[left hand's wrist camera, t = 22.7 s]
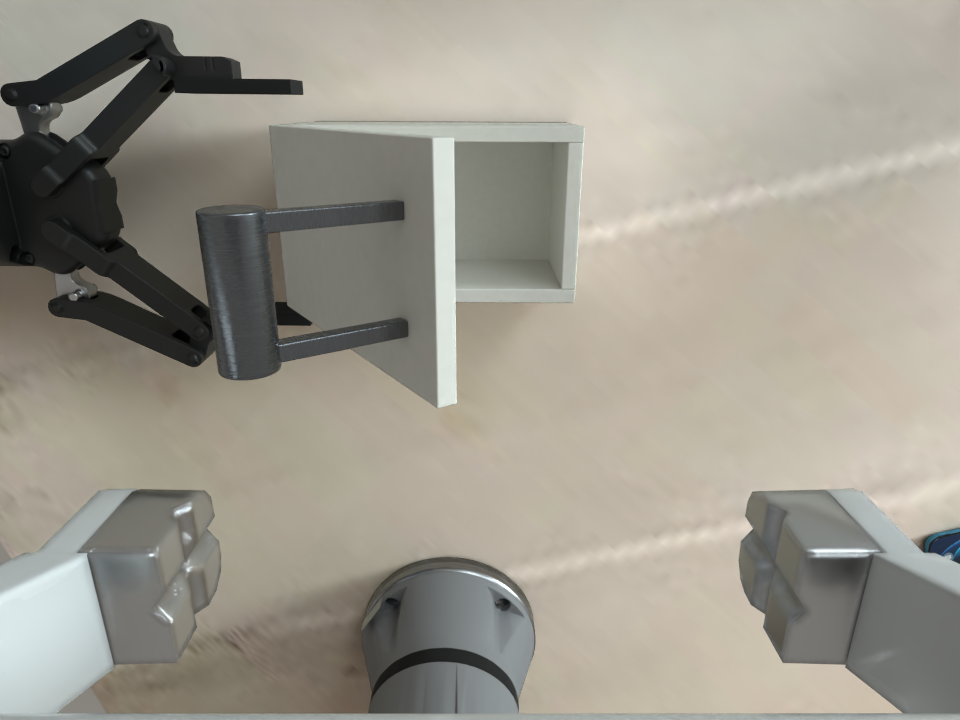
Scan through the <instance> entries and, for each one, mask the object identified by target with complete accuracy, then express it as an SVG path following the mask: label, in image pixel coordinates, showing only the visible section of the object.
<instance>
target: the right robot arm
mask: <svg viewBox="0 0 960 720" xmlns="http://www.w3.org/2000/svg"><path fill="white" fill-rule="evenodd" d="M146 59H149V60H150V61H149V62H148V63H147V64H146V65H145V66H144V67H143V68H142V70H141V71H140V72H139V73H138V74H137V75H136V76H135V77H134V78H133V79H132V80H131V81H130V82H129V83H128V84H127V85H126V87H125V88H124V89H123V90H122V91H121V92H120V93H119V94H118V95H117V96H116V97H115V98H114V99H113V100H112V101H111V102H110V103H109V105H108V106H107V107H106V108H105V109H104V110H103V111H102V112H101V113H100V114H99V115H98V116H97V117H96V118H95V119H94V120H93V122H92V123H91V124H90V125H89V126H88V127H87V128H86V129H85V130H84V131H83V132H82V133H81V134H79V135H77V136H75V137H73V138H72V139H71V140H70V141H69V142H67V141H65V140H64V139H62V138H61V137H59V136H58V135H56V134H54V133H52V132H50V129H49V125H50V122H51V121H52V120H53V119H55V118H58V117H59V116H60V114H61V112H62V111H63V107H62V105H61V104H64V103H68V102H71V101H74V100H76V99H79V98H81V97H82V96H84V95H86V94H88V93H89V92H91V91H93V90H94V89H96V88H98V87H100V86H101V85H103V84H105V83H106V82H108V81H110V80H112V79H113V78H115V77H117V76H118V75H120V74H122V73H124V72H125V71H127V70H129V69H130V68H132V67H134V66H136V65H137V64H139V63H141V62H142V61H144V60H146ZM174 90H175V93H193V94H280V95H303V85H302V81H297V80H290V79H242V78H241V68H240V62H238V61H236V60H233V59H231V58H226V57H202V56H183V55H182V54H180V52H179V51H178V50H177V48H176V46H175V44H174V42H173V33H172V31H171V29H170V28H169V27H168V26H166V25H163V24H160V23H156V22H152V21H148V20H143V19H140V20H137V21H135V22H133V23H132V24H130V25H128V26H127V27H125V28H123V29H122V30H120V31H118V32H117V33H115V34H113V35H112V36H110V37H108V38H106V39H105V40H103V41H101V42H100V43H98V44H96V45H95V46H93V47H91V48H90V49H88V50H86V51H85V52H83V53H81V54H80V55H78V56H76V57H75V58H73V59H71V60H69V61H68V62H66V63H64V64H63V65H61V66H59V67H58V68H56V69H54V70H53V71H51V72H49V73H48V74H46V75H44V76H43V77H41V78H39V79H38V80H34V81H25V82H16V83H8V84H5V85H3V86H2V87H1V91H0V93H1V97H2V99H3V101H4V102H5V103H6V104H8V105H10V106H16V109H17V112H18V115H19V118H20V121H21V124H22V128H23V131H24V134H23V135H22V136H20V137H19V138H17V139H14V140H0V266H38V267H42V268H45V269H47V270H49V271H51V272H53V273H54V274H55V284H56V294H57V297H56V298H54V299H52V300H50V302H49V303H48V308H49V311H50V312H51V313H52V314H53V315H55V316H57V317H64V318H73V319H81V320H87V321H89V322H91V323H93V324H96V325H98V326H100V327H102V328H105V329H107V330H109V331H112V332H114V333H116V334H118V335H121V336H123V337H125V338H127V339H130V340H132V341H134V342H136V343H139V344H141V345H143V346H145V347H148V348H150V349H152V350H154V351H157V352H159V353H161V354H163V355H166V356H168V357H170V358H172V359H175V360H177V361H179V362H181V363H184V364H186V365H188V366H191V367H197V366H199V365H200V364H201V363H202V362H203V361H205V360H206V359H207V358H208V357H209V356H210V355H211V354H212V353H213V352H214V351H215V345H214V338H213V331H212V324H211V317H210V310H209V307H207V306H206V305H205V304H203V303H202V302H201V301H199V300H198V299H197V298H195V297H194V296H193V295H191V294H190V293H189V292H187V291H186V290H185V289H183V288H182V287H180V286H179V285H178V284H176V283H175V282H174V281H172V280H171V279H170V278H168V277H167V276H166V275H164V274H163V273H162V272H160V271H159V270H158V269H156V268H155V267H154V266H152V265H151V264H149V263H148V262H147V261H145V260H144V259H143V258H141V257H140V256H139V255H138V254H137V251H136V249H135V248H134V247H132V246H131V245H130V244H128V243H127V242H126V241H124V240H123V239H122V238H120V237H119V233H120V229H122V228H124V226H123V220H122V215H121V213H120V211H119V208H118V206H117V204H116V198H117V186H116V180H115V177H111V176H110V174H109V173H108V171H107V170H106V169H105V168H104V166H105V165H106V164H107V163H108V162H109V161H110V160H111V159H112V158H113V157H114V156H115V155H116V154H117V153H118V152H119V150H120V149H119V148H120V146H121V145H122V144H123V143H124V142H125V141H126V140H127V139H128V138H129V137H130V136H131V135H132V134H133V133H134V132H135V131H136V130H137V129H138V128H139V127H140V126H141V124H142V123H143V122H144V121H145V120H146V119H147V118H148V117H149V116H150V115H151V114H152V113H153V112H154V111H155V110H156V109H157V108H158V107H159V106H160V105H161V104H162V103H163V102H164V101H165V100H166V99H167V98H168V97H169V96H170V95H171V94H172V92H173V91H174ZM104 251H105V252H104ZM84 266H87V267H88V268H90V269H91V270H93V271H94V272H95V273H97V274H99V275H101V276H105V277H109V278H111V279H112V280H113V281H115V282H116V283H118V284H119V285H120V286H122V287H123V288H124V289H126V290H127V291H129V292H130V293H131V294H133V295H134V296H135V297H137V298H138V299H140V300H141V301H142V302H144V303H145V304H146V305H148V306H149V307H151V308H152V309H153V310H155V311H156V312H158V313H159V314H160V315H162V316H163V317H164V318H163V317H161V316H159V315H157V314H154V313H152V312H150V311H148V310H146V309H143V308H141V307H139V306H137V305H134V304H132V303H130V302H128V301H126V300H123V299H121V298H119V297H117V296H114V295H112V294H108V293H105V292H100V291H97V290H98V287H97V286H96V285H95V284H91V283H89V282H87V281H84V280H83V279H82V278H81V277H80V275H79V272H78V270H80V269H82V268H83V267H84ZM275 310H276V319H277V325H300V326H311V324H312V322H311V321H309V320H308V319H306V318H305V317H303V316H302V315H301V314H299V313H298V312H296V311H295V310H293V309H292V308H290V307H289V306H287V302H275ZM165 318H166V319H165ZM361 631H362V646H363V651H364V655H365V660H366V665H367V670H368V675H369V680H370V685H371V690H372V696H371V702H370V707H369V711H368V714H519V704H518V699H519V696H520V693H521V690H522V687H523V684H524V681H525V678H526V675H527V672H528V669H529V666H530V663H531V660H532V657H533V654H534V650H535V629H534V620H533V614H532V610H531V607H530V605H529V602H528V600H527V598H526V596H525V595H524V593H523V592H522V591H521V589H520V588H519V587H518V586H517V585H516V584H515V583H514V582H513V581H512V580H511V579H510V578H509V577H507V576H506V575H505V574H503V573H502V572H500V571H498V570H497V569H495V568H493V567H491V566H488V565H486V564H483V563H480V562H477V561H474V560H469V559H463V558H452V557H444V558H433V559H427V560H422V561H419V562H416V563H413V564H410V565H408V566H406V567H404V568H402V569H400V570H398V571H397V572H395V573H393V574H392V575H391V576H389V577H388V578H387V579H386V580H385V581H384V582H383V583H382V584H381V585H380V586H379V587H378V588H377V590H376V591H375V593H374V594H373V596H372V598H371V600H370V602H369V605H368V607H367V611H366V616H365V620H364V621H363V624H362V628H361ZM360 633H361V632H360Z"/></svg>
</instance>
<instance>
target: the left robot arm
mask: <svg viewBox="0 0 960 720" xmlns="http://www.w3.org/2000/svg"><path fill="white" fill-rule="evenodd" d="M214 516H215V515H214V510H213V505H212V500H211V496H210V495H209V494H208V493H207V492H206V491H204V490H153V489H140V490H137V489H106V490H101V491H98V492H97V493H96V494H95V495H94V496H93V497H92V498H91V499H90V500H89V501H88V502H87V503H86V504H85V505H84V506H83V507H82V508H81V509H80V510H79V511H78V512H77V513H76V514H75V515H74V516H73V517H72V518H71V519H70V520H69V521H68V522H67V523H66V524H65V525H64V526H63V527H62V528H61V529H60V530H59V531H58V532H57V533H56V534H55V535H54V536H53V537H52V538H51V539H50V540H49V541H48V542H47V543H46V544H45V545H44V546H43V547H42V548H41V549H40V550H39V551H38V552H37V553H24V554H22V555H20V556H17V557H15V558H13V559H11V560H8V561H6V562H4V563H2V564H0V720H960V564H958V563H956V562H954V561H952V560H949V559H947V558H945V557H943V556H941V555H938V554H936V553H923V552H922V551H921V550H920V549H919V548H918V547H917V546H916V545H915V544H914V543H913V542H912V541H911V540H910V539H909V538H908V537H907V536H906V535H905V534H904V533H903V532H902V531H901V530H900V529H899V528H898V527H897V526H896V525H895V524H894V523H893V522H892V521H891V520H890V519H889V518H888V517H887V516H886V515H885V514H884V513H883V512H882V511H881V510H880V509H879V508H878V507H877V506H876V505H875V504H874V503H873V502H872V501H871V500H870V499H869V498H868V497H867V496H866V495H865V494H864V493H863V492H861V491H859V490H856V489H828V490H794V491H758V492H752V494H751V496H750V498H749V500H748V503H747V509H746V514H745V516H746V518H747V520H748V521H749V523H750V524H751V526H752V527H753V529H752V530H751V532H750V533H749V534H748V535H747V536H746V537H745V538H744V539H743V540H742V541H741V546H740V554H739V569H740V579H741V582H742V586H743V589H744V592H745V594H746V596H747V598H748V600H749V602H750V604H751V605H752V606H754V607H755V608H757V609H758V610H760V611H761V612H763V613H764V614H765V620H764V626H763V628H764V630H765V631H766V633H767V635H768V637H769V639H770V640H771V642H772V644H773V646H774V648H775V649H776V651H777V653H778V655H779V657H780V658H781V660H782V662H783V663H808V664H844V665H846V668H847V669H848V670H849V671H851V672H852V673H853V674H854V675H856V676H857V677H858V678H859V679H861V680H862V681H863V682H865V683H866V684H867V685H868V686H870V687H871V688H872V689H873V690H875V691H876V692H877V693H878V694H880V695H881V696H882V697H884V698H885V699H886V700H887V701H889V702H890V703H891V704H892V705H894V706H895V707H896V708H897V709H899V710H900V711H901V712H903V713H798V714H796V713H795V714H105V713H104V714H103V713H101V714H100V713H97V714H95V713H94V714H92V713H87V714H86V713H85V714H84V713H83V714H81V713H79V714H78V713H77V714H75V713H66V714H65V713H62V714H59V713H58V712H59V711H60V710H61V709H63V708H64V707H65V706H67V705H68V704H69V703H70V702H72V701H73V700H74V699H75V698H77V697H78V696H79V695H80V694H82V693H83V692H84V691H86V690H87V689H88V688H89V687H91V686H92V685H93V684H94V683H96V682H97V681H98V680H100V679H101V678H102V677H103V676H105V675H106V674H107V673H108V672H110V671H111V670H112V669H114V665H116V664H151V663H177V662H178V660H179V659H180V657H181V655H182V653H183V651H184V649H185V648H186V646H187V644H188V642H189V640H190V639H191V637H192V635H193V633H194V631H195V630H196V628H197V626H196V620H195V614H196V613H197V612H199V611H200V610H202V609H203V608H205V607H206V606H208V605H209V604H210V602H211V600H212V598H213V596H214V594H215V592H216V590H217V585H218V581H219V577H220V573H221V552H220V545H219V541H218V540H217V539H216V538H215V537H214V536H213V535H212V534H211V533H210V532H209V530H208V529H207V527H208V526H209V524H210V523H211V521H212V520H213V518H214Z"/></svg>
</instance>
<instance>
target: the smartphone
mask: <svg viewBox="0 0 960 720" xmlns="http://www.w3.org/2000/svg"><path fill="white" fill-rule="evenodd" d="M924 549H925V553H936V554H938V555H941V556H943V557H945V558H947V559H949V560H952V561H954V562H956V563H958V564H960V528H959V529H955V530H950V531H946V532H941V533H937V534H934V535H932V536H930V537H929V538H928V539H927V540H926V542H925V547H924Z"/></svg>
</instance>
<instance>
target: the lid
mask: <svg viewBox="0 0 960 720" xmlns="http://www.w3.org/2000/svg"><path fill="white" fill-rule="evenodd" d="M269 130H270V140H271V150H272V160H273V170H274V180H275V190H276V200H277V209H268V210H264V208H262V207H259V206H253V205H223V206H213V207H206V208H202V209H199V210H197V211H196V220H197V227H198V234H199V241H200V247H201V254H202V261H203V268H204V275H205V282H206V289H207V296H208V303H209V310H210V317H211V324H212V331H213V338H214V345H215V352H216V359H217V366H218V372H219V374H220V375H221V376H222V377H224V378H226V379H231V380H253V379H259V378H263V377H266V376H269V375H272V374H274V373H276V372H277V371H278V370H279V369H280V368H281V362H286V361H291V360H296V359H301V358H306V357H311V356H316V355H321V354H326V353H331V352H336V351H340V350H345V349H352V350H353V351H354V352H356V353H357V354H359V355H360V356H362V357H363V358H365V359H366V360H368V361H369V362H371V363H372V364H373V365H375V366H376V367H378V368H379V369H381V370H382V371H384V372H385V373H387V374H388V375H389V376H391V377H392V378H394V379H395V380H397V381H398V382H400V383H401V384H403V385H404V386H406V387H407V388H408V389H410V390H411V391H413V392H414V393H416V394H417V395H419V396H420V397H422V398H423V399H425V400H426V401H427V402H429V403H430V404H432V405H433V406H435V407H436V408H442V407H445V406H449V405H453V404H456V296H455V183H454V138H453V137H445V136H431V135H417V134H403V133H389V132H375V131H361V130H347V129H333V128H319V127H305V126H291V125H269ZM275 232H280V239H281V249H282V259H283V269H284V279H285V289H286V299H287V306H289V307H290V308H292V309H293V310H295V311H296V312H298V313H299V314H301V315H302V316H303V317H305V318H306V319H308V320H309V321H311V322H312V323H314V324H315V325H317V326H318V327H319V328H321V329H322V330H324V331H322V332H316V333H311V334H305V335H300V336H294V337H289V338H283V339H279V337H278V328H277V319H276V310H275V300H274V291H273V282H272V272H271V263H270V254H269V245H268V235H267V233H275Z"/></svg>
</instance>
